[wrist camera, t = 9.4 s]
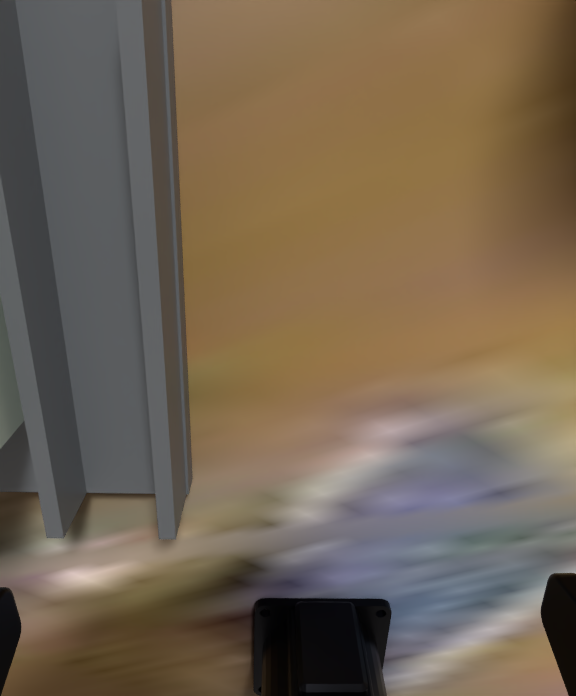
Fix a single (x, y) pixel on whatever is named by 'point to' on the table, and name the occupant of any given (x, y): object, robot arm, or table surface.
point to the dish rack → (93, 255)
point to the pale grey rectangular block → (8, 387)
